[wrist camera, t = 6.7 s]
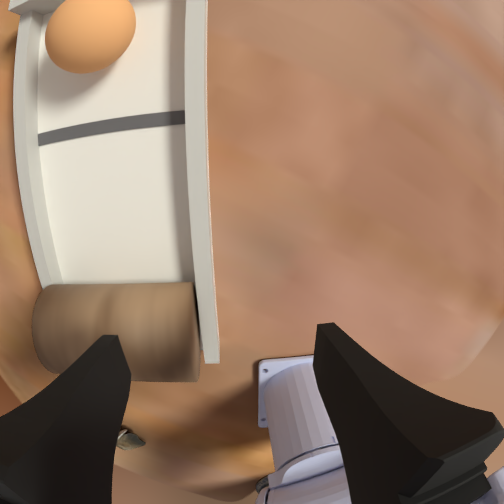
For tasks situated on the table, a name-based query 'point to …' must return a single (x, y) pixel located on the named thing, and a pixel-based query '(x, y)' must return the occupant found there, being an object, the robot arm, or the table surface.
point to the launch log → (122, 327)
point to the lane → (119, 157)
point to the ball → (89, 34)
